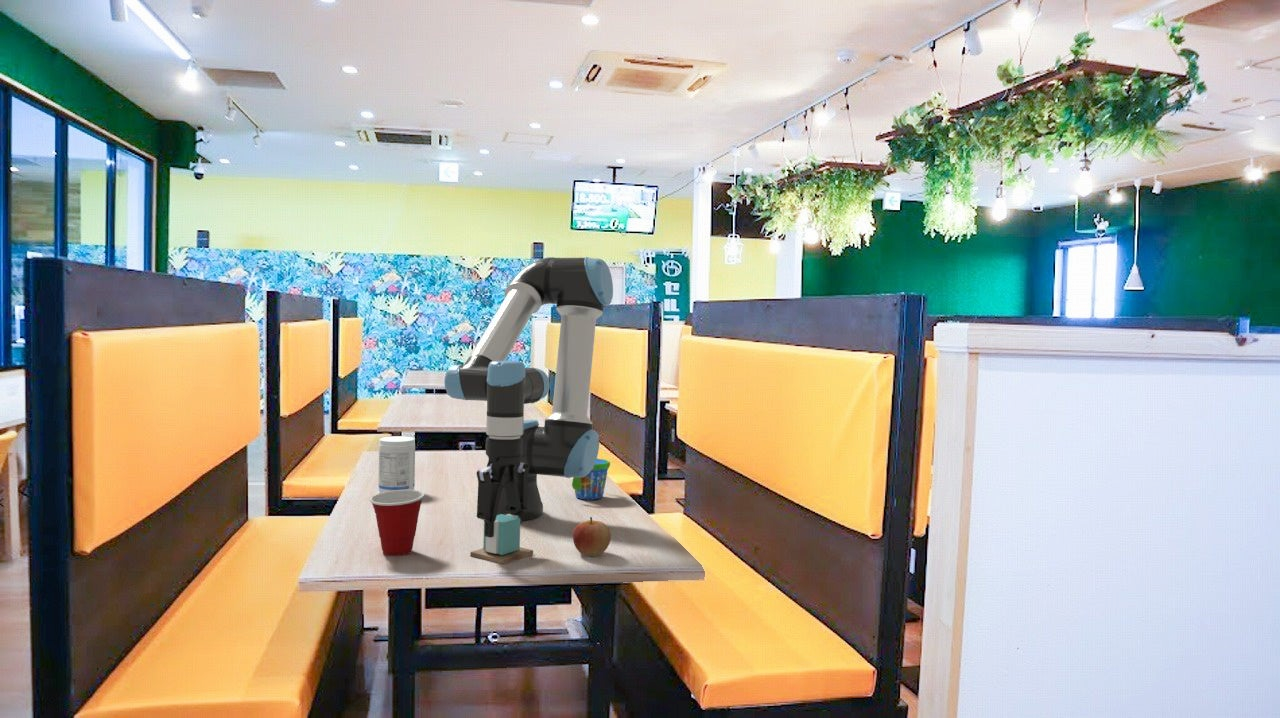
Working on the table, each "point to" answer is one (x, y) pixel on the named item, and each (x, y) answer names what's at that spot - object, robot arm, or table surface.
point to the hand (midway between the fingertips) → (501, 548)
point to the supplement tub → (396, 463)
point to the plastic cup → (397, 519)
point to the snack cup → (592, 481)
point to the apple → (591, 537)
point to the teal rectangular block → (507, 534)
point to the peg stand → (502, 558)
